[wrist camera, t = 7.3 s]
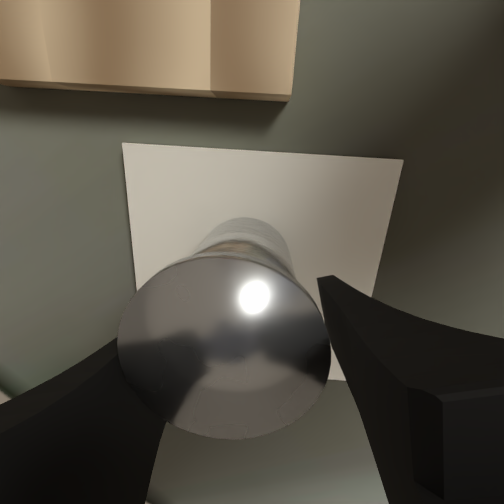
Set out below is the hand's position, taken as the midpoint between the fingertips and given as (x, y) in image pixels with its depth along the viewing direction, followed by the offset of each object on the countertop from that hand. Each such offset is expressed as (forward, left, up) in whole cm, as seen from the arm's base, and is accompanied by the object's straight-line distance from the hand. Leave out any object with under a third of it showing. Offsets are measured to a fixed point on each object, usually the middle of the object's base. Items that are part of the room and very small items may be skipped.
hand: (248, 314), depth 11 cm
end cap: (0, -1, -3) cm, 3 cm away
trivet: (0, 0, -4) cm, 4 cm away
